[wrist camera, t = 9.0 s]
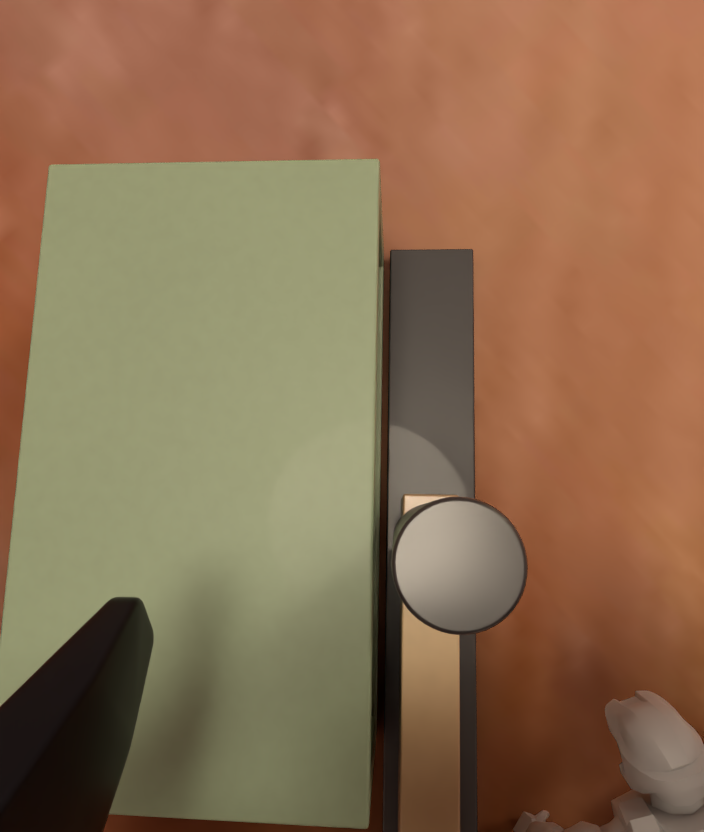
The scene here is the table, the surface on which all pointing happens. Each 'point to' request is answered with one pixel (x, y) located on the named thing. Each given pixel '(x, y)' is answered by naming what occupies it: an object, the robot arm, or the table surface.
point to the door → (444, 637)
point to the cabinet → (238, 472)
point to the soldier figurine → (647, 772)
